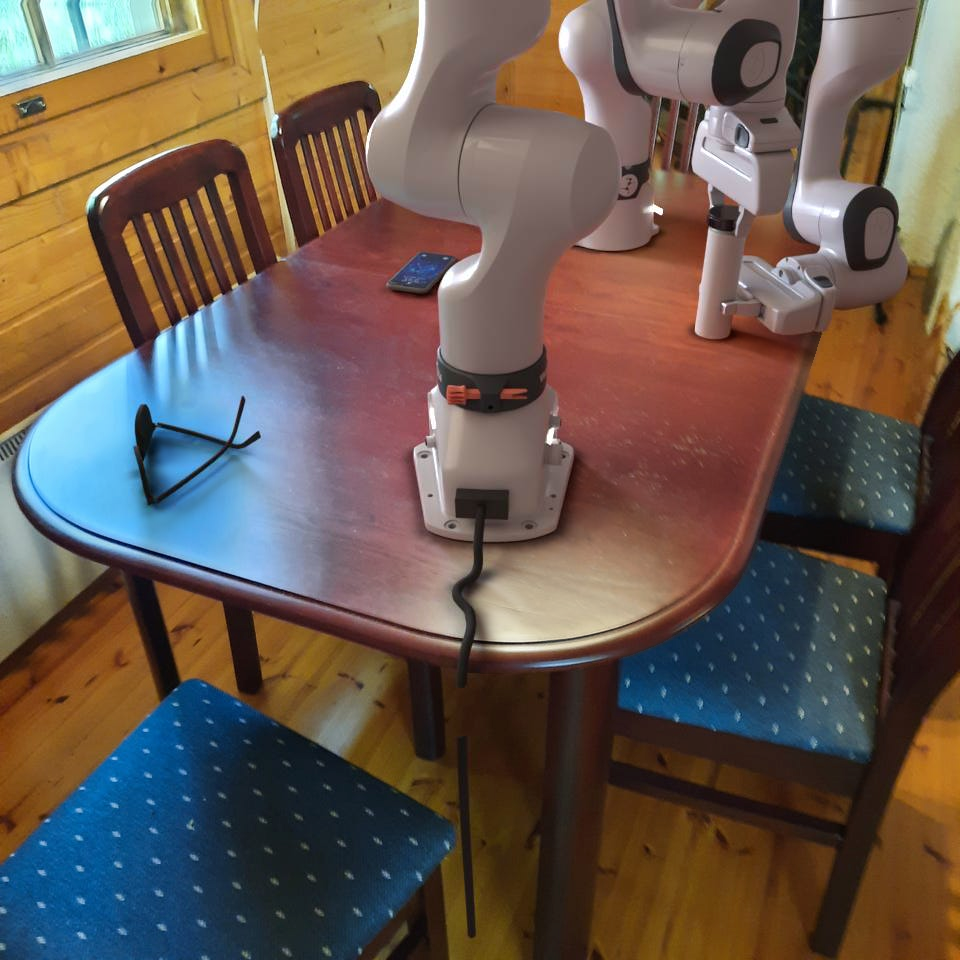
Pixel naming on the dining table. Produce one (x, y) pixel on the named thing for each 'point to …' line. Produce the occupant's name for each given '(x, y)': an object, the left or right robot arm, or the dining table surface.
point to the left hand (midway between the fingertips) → (728, 226)
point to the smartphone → (421, 272)
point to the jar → (718, 282)
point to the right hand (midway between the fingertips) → (711, 299)
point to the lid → (723, 217)
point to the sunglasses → (147, 427)
